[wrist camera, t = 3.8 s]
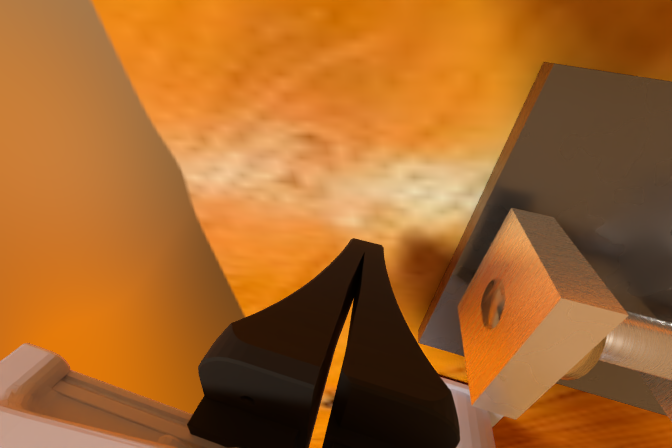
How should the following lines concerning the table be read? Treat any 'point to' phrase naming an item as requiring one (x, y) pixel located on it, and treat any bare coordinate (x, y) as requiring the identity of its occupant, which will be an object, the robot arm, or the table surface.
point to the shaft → (546, 319)
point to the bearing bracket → (584, 205)
